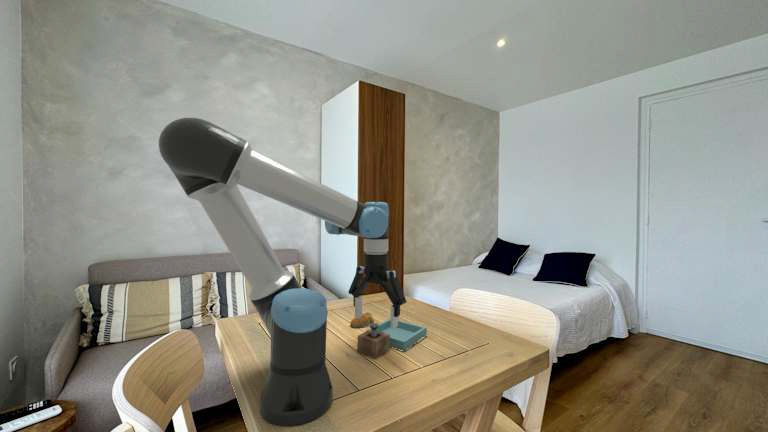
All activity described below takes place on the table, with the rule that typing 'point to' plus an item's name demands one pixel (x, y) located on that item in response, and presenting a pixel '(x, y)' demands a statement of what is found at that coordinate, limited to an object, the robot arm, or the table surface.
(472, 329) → the table surface
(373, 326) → the metal bolt
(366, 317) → the pastry
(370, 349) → the collar
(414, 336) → the tray
